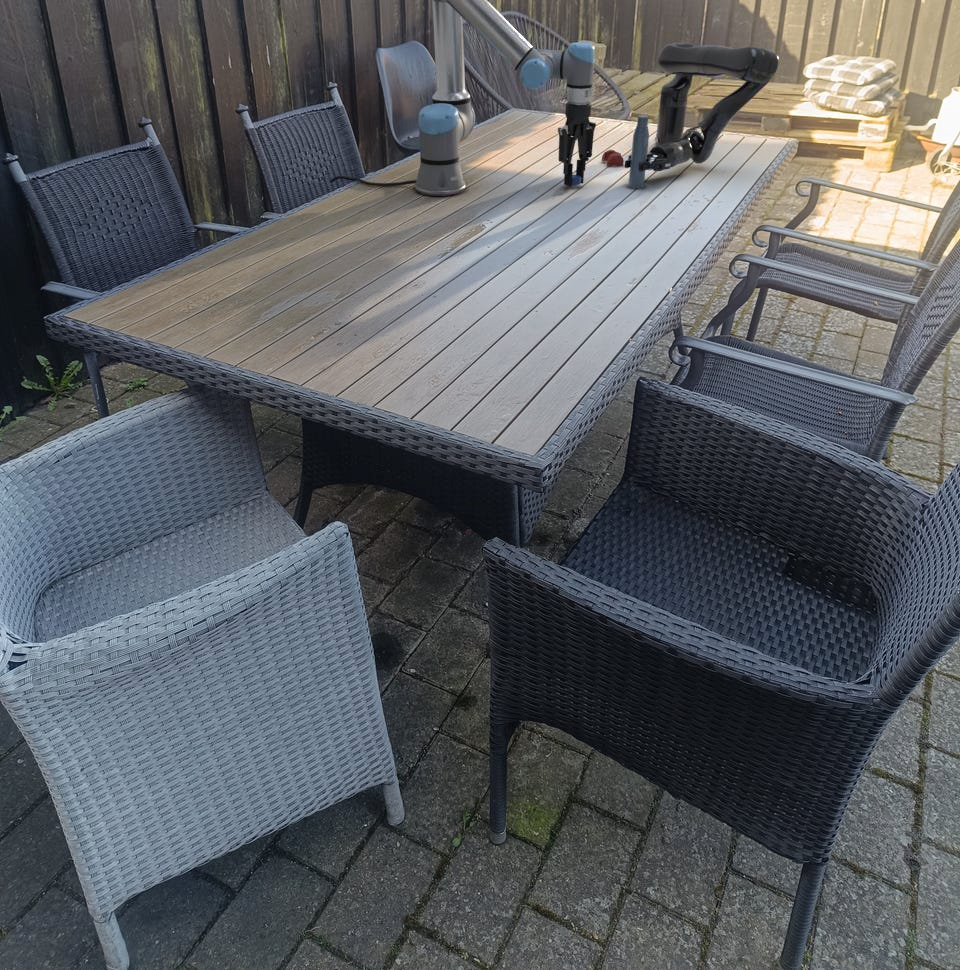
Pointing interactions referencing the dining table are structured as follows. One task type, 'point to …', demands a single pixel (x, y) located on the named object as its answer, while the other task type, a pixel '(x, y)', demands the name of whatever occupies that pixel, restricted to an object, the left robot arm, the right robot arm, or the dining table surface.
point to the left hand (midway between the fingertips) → (573, 183)
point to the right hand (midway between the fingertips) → (632, 166)
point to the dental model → (612, 158)
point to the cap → (576, 179)
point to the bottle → (639, 153)
